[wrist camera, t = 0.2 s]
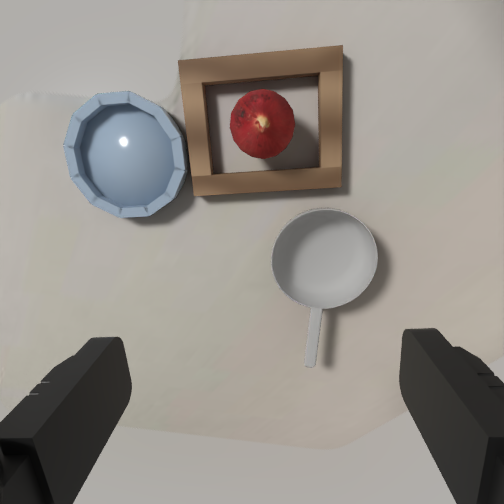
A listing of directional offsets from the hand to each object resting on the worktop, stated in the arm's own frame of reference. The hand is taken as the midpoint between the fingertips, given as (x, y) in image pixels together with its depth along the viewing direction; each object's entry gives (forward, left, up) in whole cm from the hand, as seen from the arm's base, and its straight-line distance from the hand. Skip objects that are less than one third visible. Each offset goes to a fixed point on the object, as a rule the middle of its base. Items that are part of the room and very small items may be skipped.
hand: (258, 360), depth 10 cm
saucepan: (+9, +5, -28) cm, 30 cm away
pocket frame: (-8, 0, -28) cm, 29 cm away
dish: (-6, -14, -28) cm, 32 cm away
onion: (-8, 0, -28) cm, 29 cm away
